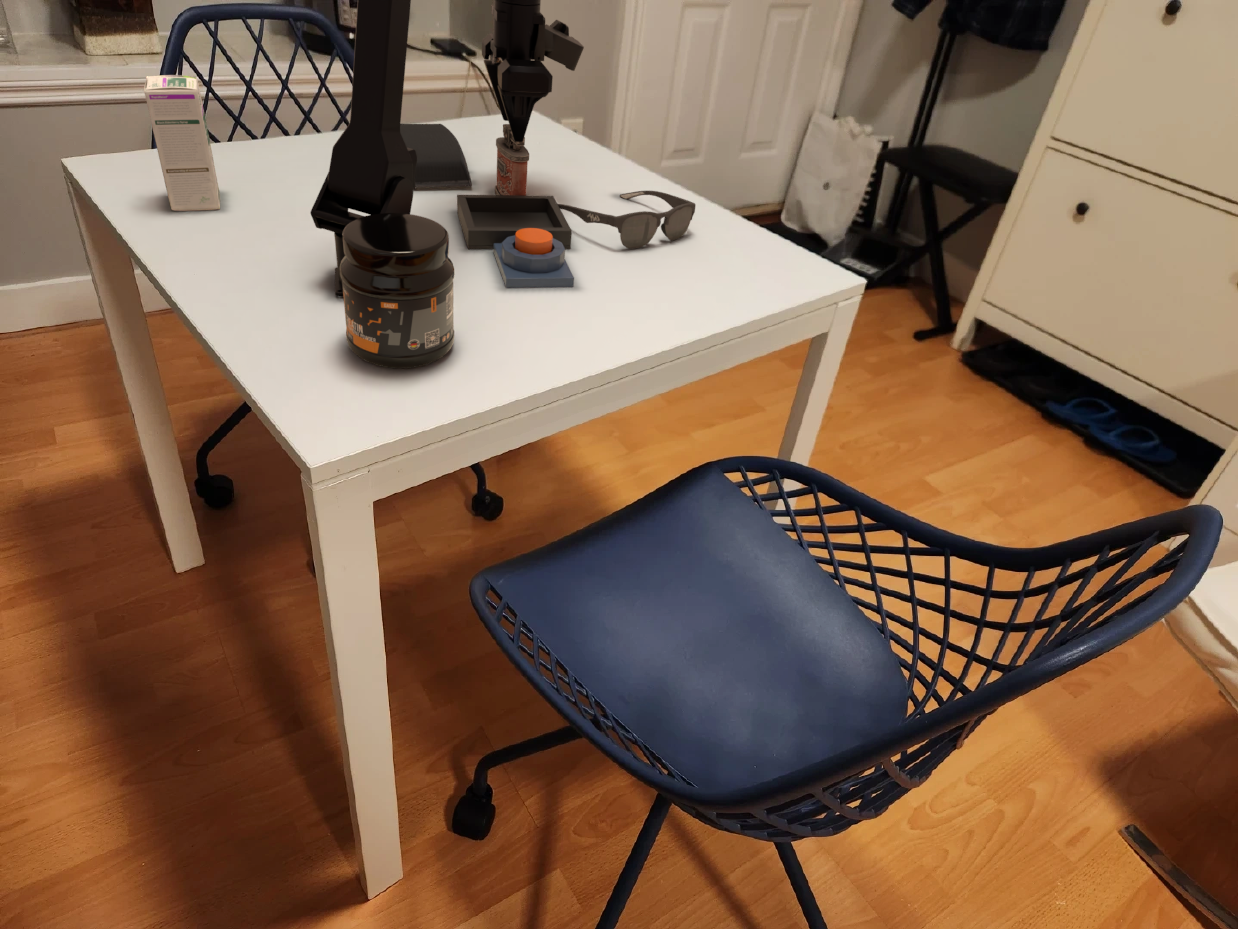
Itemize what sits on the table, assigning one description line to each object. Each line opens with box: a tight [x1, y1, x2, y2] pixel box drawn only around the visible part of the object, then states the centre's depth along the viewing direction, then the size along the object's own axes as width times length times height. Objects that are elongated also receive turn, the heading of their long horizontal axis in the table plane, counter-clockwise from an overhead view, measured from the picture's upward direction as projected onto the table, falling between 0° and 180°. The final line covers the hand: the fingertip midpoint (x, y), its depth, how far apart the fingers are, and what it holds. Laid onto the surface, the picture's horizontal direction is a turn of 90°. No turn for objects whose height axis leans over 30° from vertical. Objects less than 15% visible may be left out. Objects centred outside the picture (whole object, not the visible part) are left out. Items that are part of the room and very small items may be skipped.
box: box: [492, 235, 575, 289], centre depth 103 cm, size 10×8×3 cm
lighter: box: [494, 123, 530, 195], centre depth 118 cm, size 8×3×10 cm, turn 25°
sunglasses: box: [557, 190, 696, 250], centre depth 118 cm, size 16×17×5 cm
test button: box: [515, 228, 553, 255], centre depth 102 cm, size 4×4×2 cm
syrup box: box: [143, 74, 221, 212], centre depth 105 cm, size 6×6×14 cm
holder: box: [456, 194, 573, 250], centre depth 112 cm, size 12×13×2 cm
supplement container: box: [340, 213, 456, 369], centre depth 83 cm, size 10×10×12 cm
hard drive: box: [400, 123, 473, 188], centre depth 127 cm, size 13×19×4 cm
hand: (512, 130), depth 116 cm, fingers open, 9 cm apart
